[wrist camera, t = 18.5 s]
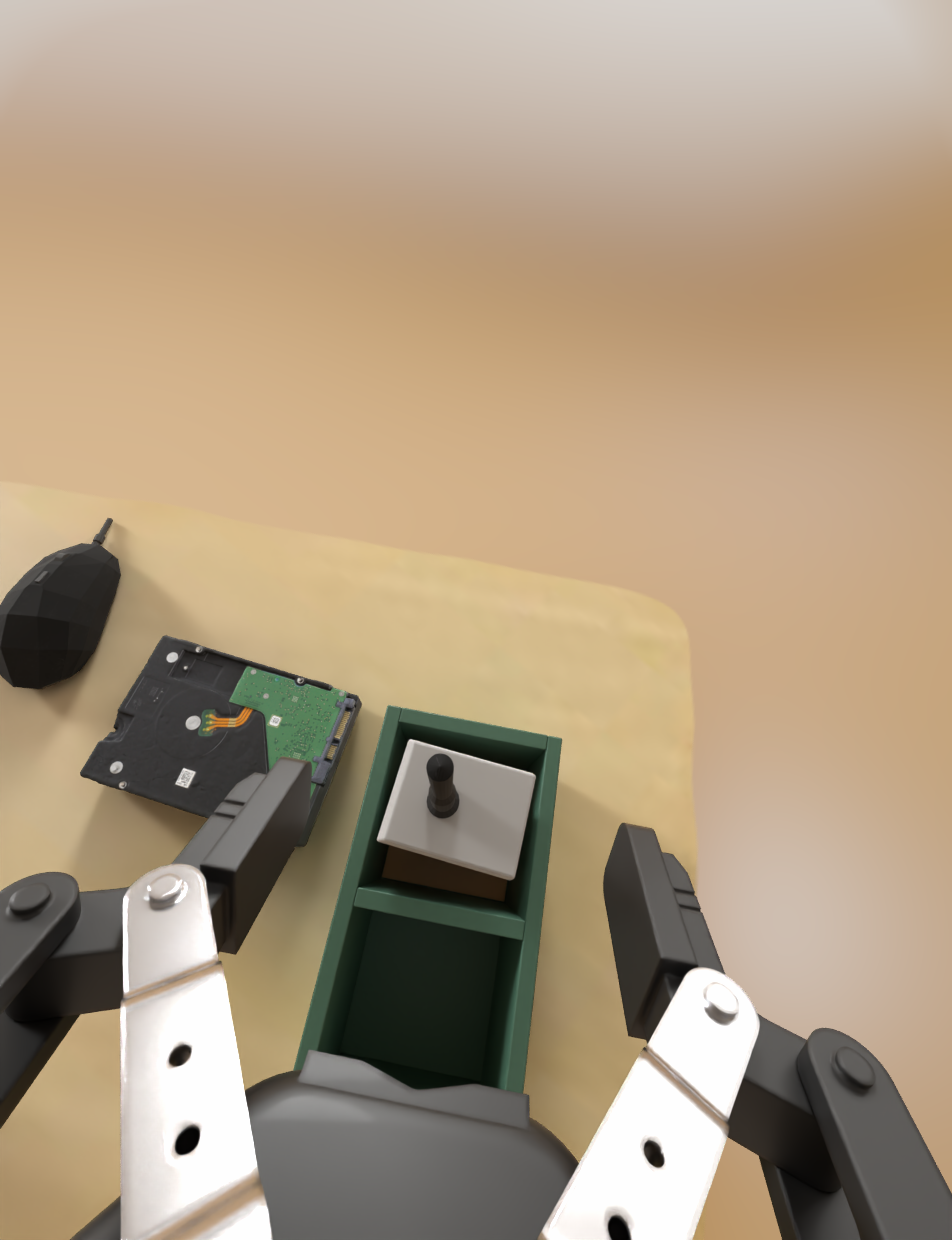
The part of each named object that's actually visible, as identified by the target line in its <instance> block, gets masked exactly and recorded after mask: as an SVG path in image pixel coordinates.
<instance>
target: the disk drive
mask: <svg viewBox="0 0 952 1240" xmlns="http://www.w3.org/2000/svg"><path fill="white" fill-rule="evenodd" d="M361 706H362V703H361V701H360V699H359V697H358V696H357V695H353V694H350V693H347V692H346V691H342V690H339V689H336V688H333V687H332V686H331V685H329V684H326V683H324V682H319V681H316V680H311V679H307V678H304V677H301V676H298V675H295V674H291V673H288V672H285V671H281V670H278V669H275V668H272V667H268V666H265V665H262V664H258V663H255V662H252V661H249V660H245V659H242V658H239V657H235V656H233V655H229V654H226V653H222V652H219V651H216V650H213V649H210V648H206V647H203V646H200V645H198V644H195V643H192V642H189V641H185V640H180V639H176V638H172V637H169V636H167V635H166V636H163V637H162V638H161V640H160V641H159V643H158V645H157V647H156V648H155V650H154V652H153V653H152V655H151V656H150V658H149V660H148V663H147V664H146V665H145V667H144V669H143V670H142V672H141V674H140V675H139V677H138V678H137V680H136V682H135V684H134V685H133V686H132V688H131V689H130V691H129V692H128V695H127V696H126V698H125V699H124V701H123V702H122V704H121V706H120V707H119V709H118V714H117V719H116V721H115V725H114V728H115V729H116V731H115V732H110V733H109V735H108V736H107V737H105V739H104V740H103V741H100V742H98V744H97V745H96V747H95V749H94V751H93V752H92V754H91V755H90V757H89V759H88V761H87V762H86V764H85V766H84V767H83V768H82V770H81V772H80V775H81V776H82V777H85V778H88V779H91V780H93V781H96V782H98V783H99V784H103V785H106V786H109V787H112V788H116V789H119V790H124V791H127V792H129V793H133V794H135V795H139V796H142V797H145V798H148V799H151V800H154V801H157V802H160V803H163V804H165V805H169V806H172V807H175V808H178V809H181V810H184V811H187V812H190V813H193V814H196V815H199V816H202V817H206V818H209V817H210V816H211V815H213V814H214V811H215V810H216V809H217V807H218V806H219V805H220V804H221V802H224V799H225V797H226V796H227V795H228V794H229V793H230V791H231V790H232V789H233V788H234V786H235V785H236V784H237V783H239V782H241V781H242V780H244V779H245V778H247V777H249V776H250V775H252V774H253V773H255V772H256V773H261V774H266V775H267V774H268V772H269V771H270V770H271V768H272V767H273V766H274V764H275V763H276V762H277V760H278V759H279V758H280V757H282V756H284V757H289V758H294V759H300V760H305V761H310V762H311V764H312V777H311V793H310V809H309V815H308V819H307V823H306V826H305V829H304V831H303V833H302V835H301V837H300V839H299V841H298V843H297V845H296V846H295V847H304V846H305V845H306V843H307V841H308V837H309V835H310V833H311V830H312V828H313V825H314V823H315V821H316V819H317V816H318V814H319V811H320V809H321V806H322V803H323V801H324V799H325V796H326V794H327V791H328V789H329V786H330V784H331V781H332V778H333V776H334V773H335V771H336V769H337V766H338V764H339V761H340V758H341V756H342V753H343V751H344V749H345V746H346V744H347V741H348V739H349V736H350V733H351V731H352V728H353V726H354V723H355V721H356V718H357V716H358V713H359V710H360V708H361Z"/></svg>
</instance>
